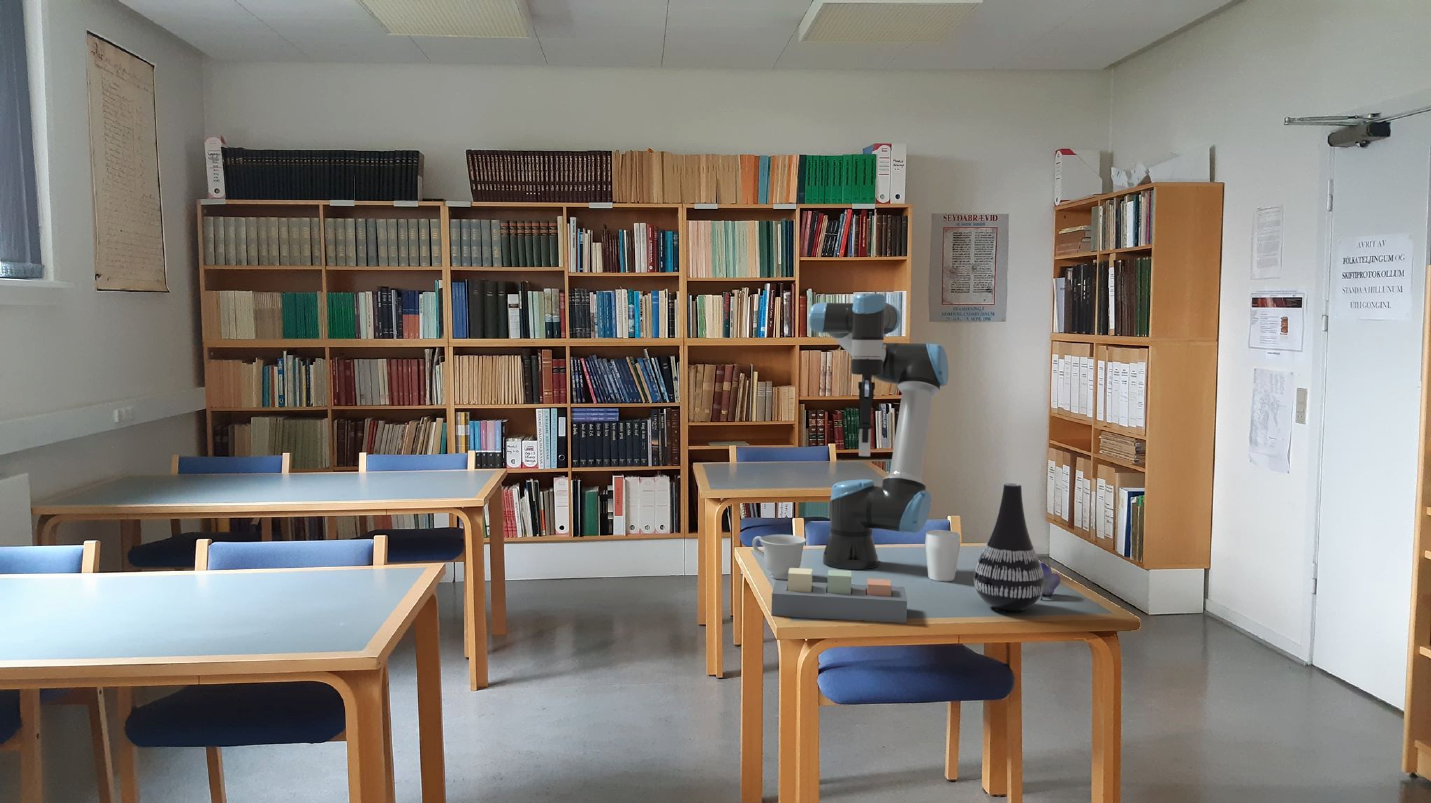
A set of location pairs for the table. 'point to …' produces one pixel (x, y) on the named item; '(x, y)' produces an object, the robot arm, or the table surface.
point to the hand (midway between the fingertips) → (864, 455)
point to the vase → (1009, 559)
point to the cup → (942, 554)
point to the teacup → (780, 553)
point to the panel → (839, 603)
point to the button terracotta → (879, 587)
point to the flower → (1049, 580)
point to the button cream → (800, 580)
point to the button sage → (839, 582)
